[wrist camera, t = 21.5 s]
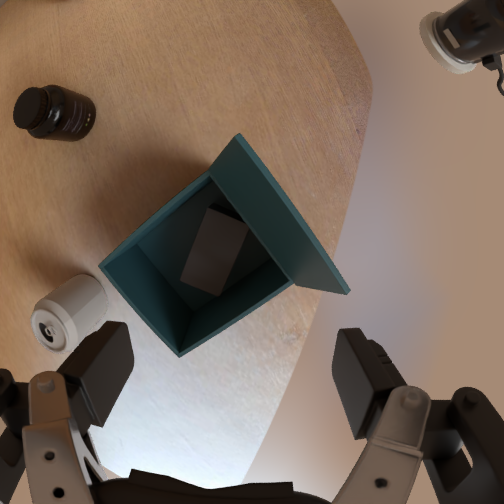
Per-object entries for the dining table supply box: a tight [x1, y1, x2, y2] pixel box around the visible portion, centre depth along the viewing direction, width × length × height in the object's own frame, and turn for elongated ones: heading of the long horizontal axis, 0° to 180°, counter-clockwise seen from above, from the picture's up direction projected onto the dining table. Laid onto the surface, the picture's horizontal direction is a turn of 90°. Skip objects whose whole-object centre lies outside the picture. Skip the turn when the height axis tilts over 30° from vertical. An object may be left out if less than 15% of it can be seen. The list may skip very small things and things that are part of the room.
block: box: [179, 203, 250, 297], centre depth 34 cm, size 5×5×9 cm
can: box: [31, 274, 108, 354], centre depth 32 cm, size 8×8×12 cm
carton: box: [98, 170, 294, 358], centre depth 32 cm, size 15×13×10 cm
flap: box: [208, 133, 351, 295], centre depth 21 cm, size 7×13×1 cm
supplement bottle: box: [13, 85, 96, 142], centre depth 26 cm, size 7×7×12 cm
